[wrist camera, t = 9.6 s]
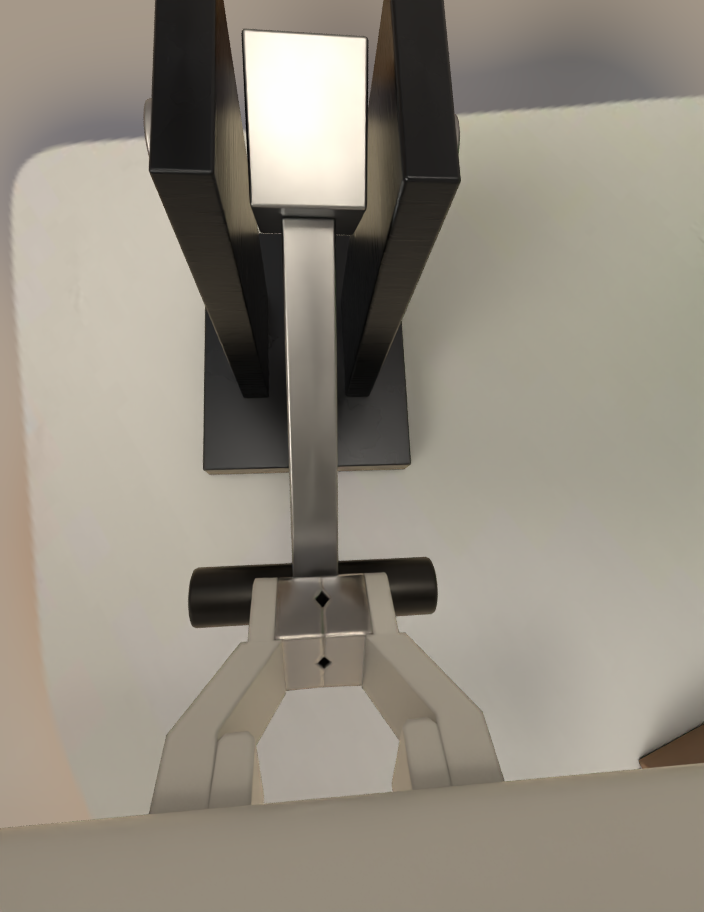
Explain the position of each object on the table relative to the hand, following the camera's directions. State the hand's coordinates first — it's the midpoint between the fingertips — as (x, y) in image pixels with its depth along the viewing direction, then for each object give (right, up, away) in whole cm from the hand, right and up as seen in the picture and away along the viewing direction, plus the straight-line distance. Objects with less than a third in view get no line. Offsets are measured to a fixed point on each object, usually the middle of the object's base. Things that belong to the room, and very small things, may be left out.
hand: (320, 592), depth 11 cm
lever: (0, +5, +1) cm, 5 cm away
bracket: (-1, +7, +9) cm, 12 cm away
